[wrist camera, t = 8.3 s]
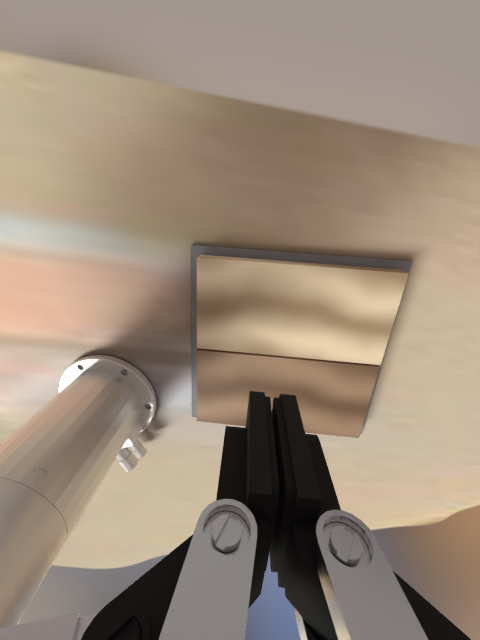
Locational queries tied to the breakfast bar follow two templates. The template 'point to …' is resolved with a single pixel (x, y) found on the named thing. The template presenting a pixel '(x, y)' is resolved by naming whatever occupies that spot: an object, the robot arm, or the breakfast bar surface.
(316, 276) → the ash plank
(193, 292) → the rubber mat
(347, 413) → the walnut board
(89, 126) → the breakfast bar surface
